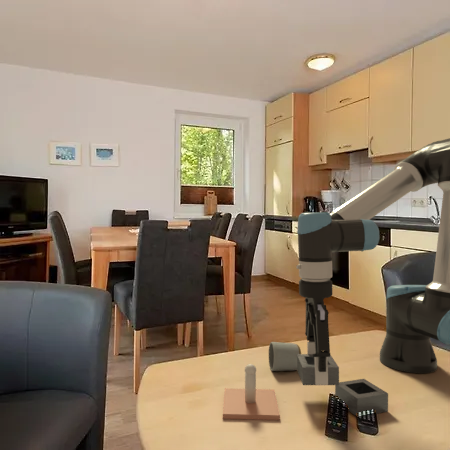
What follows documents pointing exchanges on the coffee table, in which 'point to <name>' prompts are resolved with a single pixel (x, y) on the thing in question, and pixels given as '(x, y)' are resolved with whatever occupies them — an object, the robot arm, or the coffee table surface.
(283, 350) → the ceramic mug
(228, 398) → the brown base with peg
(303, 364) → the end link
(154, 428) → the coffee table surface
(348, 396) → the grey square hollow block
